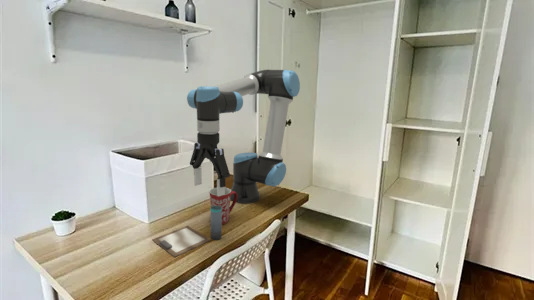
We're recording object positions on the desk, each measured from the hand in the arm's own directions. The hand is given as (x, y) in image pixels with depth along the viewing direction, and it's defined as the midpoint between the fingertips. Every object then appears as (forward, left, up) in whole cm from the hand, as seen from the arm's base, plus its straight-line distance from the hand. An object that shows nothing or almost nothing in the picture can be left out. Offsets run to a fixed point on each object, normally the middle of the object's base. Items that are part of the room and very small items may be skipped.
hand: (209, 189), depth 106 cm
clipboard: (+8, -6, -20) cm, 22 cm away
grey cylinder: (-2, +1, -20) cm, 20 cm away
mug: (-14, -8, -20) cm, 25 cm away
